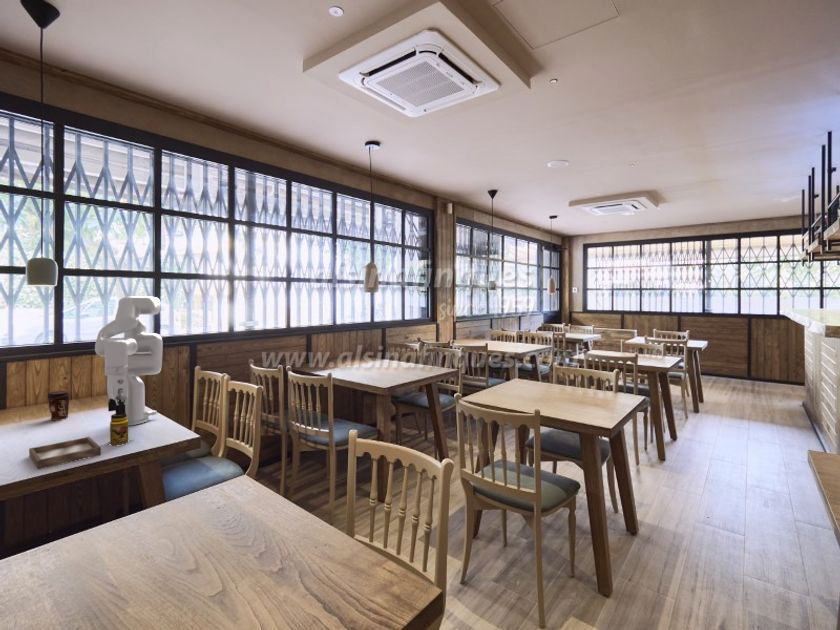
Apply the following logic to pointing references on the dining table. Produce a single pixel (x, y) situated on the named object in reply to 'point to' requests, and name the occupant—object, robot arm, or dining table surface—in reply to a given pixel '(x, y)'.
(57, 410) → the coffee cup
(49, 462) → the tray
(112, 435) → the condiment
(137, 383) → the robot arm
